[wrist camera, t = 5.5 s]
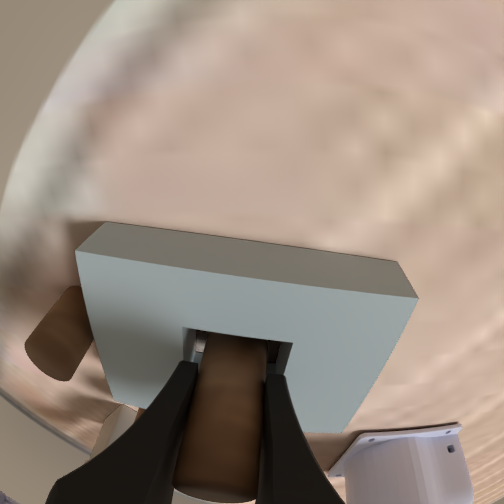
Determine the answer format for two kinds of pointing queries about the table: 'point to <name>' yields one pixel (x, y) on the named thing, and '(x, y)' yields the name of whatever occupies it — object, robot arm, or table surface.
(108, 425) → the lighter
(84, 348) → the short dowel
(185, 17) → the table surface
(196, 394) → the tall dowel
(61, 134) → the table surface
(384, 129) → the table surface
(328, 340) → the socket block
